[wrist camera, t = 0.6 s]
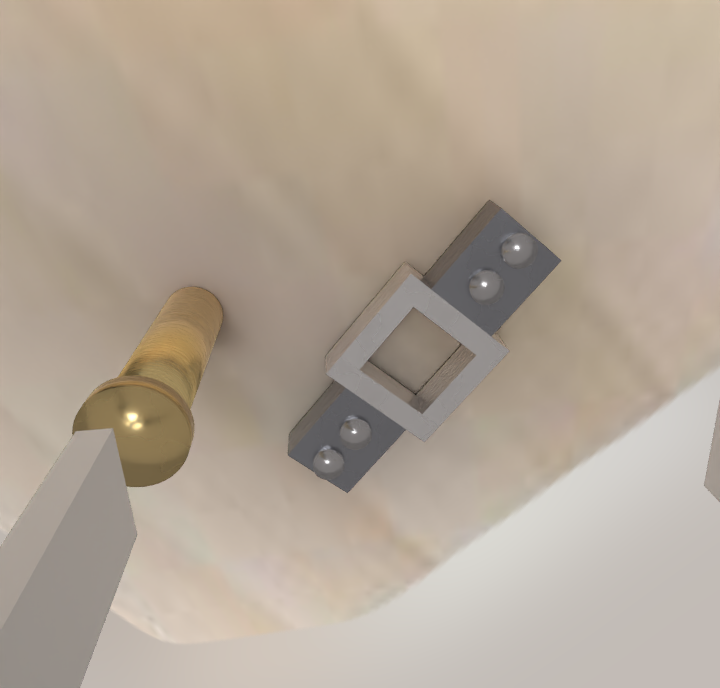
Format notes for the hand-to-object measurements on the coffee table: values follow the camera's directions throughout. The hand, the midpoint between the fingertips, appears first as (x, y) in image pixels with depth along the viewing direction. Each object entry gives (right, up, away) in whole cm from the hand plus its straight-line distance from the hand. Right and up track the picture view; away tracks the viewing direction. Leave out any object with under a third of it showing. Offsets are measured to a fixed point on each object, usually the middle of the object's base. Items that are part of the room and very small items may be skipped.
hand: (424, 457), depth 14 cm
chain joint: (+2, +2, +24) cm, 24 cm away
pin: (-11, +4, +22) cm, 25 cm away
